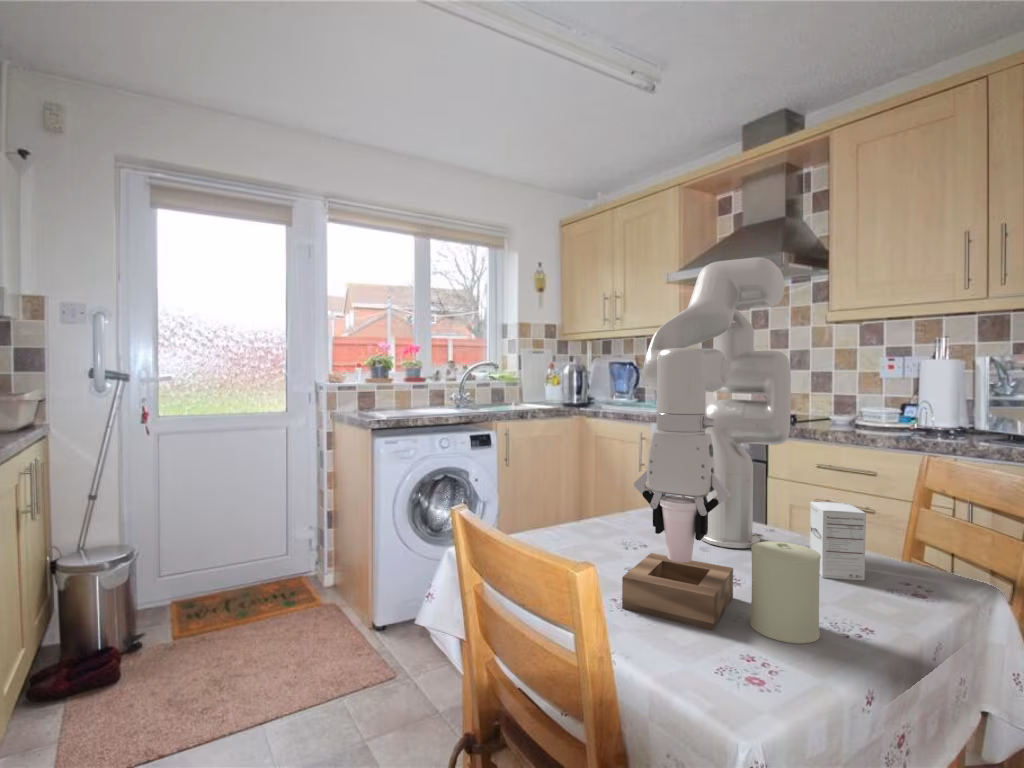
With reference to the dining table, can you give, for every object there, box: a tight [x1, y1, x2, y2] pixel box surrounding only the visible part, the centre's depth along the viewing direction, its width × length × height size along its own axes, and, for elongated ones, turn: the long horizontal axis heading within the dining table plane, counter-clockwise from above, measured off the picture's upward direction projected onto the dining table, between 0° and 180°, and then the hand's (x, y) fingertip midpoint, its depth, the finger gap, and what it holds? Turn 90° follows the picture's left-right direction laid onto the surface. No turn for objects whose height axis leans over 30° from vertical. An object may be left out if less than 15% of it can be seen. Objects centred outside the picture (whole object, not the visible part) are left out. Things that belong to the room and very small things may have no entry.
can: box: [749, 540, 821, 645], centre depth 81 cm, size 9×9×12 cm
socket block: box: [621, 552, 734, 631], centre depth 90 cm, size 14×14×5 cm
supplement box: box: [809, 501, 867, 581], centre depth 103 cm, size 7×7×13 cm
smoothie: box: [660, 494, 698, 562], centre depth 89 cm, size 6×6×14 cm
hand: (679, 533), depth 89 cm, fingers closed on smoothie, 5 cm apart
